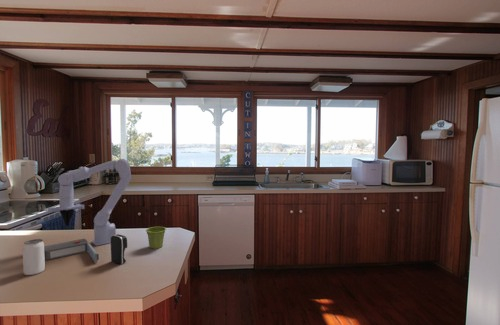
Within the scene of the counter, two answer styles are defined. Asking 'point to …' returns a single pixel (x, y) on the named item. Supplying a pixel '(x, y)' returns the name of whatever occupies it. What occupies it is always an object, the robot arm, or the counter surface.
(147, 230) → the plant pot
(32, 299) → the counter surface
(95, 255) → the grey bar handle
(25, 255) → the can
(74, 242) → the grey rectangular box
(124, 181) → the robot arm
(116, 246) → the battery charger
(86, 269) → the counter surface
